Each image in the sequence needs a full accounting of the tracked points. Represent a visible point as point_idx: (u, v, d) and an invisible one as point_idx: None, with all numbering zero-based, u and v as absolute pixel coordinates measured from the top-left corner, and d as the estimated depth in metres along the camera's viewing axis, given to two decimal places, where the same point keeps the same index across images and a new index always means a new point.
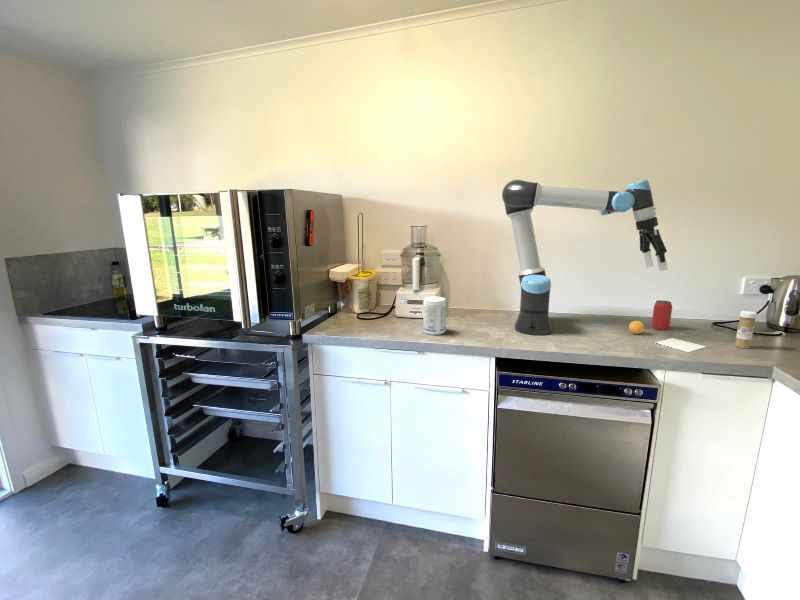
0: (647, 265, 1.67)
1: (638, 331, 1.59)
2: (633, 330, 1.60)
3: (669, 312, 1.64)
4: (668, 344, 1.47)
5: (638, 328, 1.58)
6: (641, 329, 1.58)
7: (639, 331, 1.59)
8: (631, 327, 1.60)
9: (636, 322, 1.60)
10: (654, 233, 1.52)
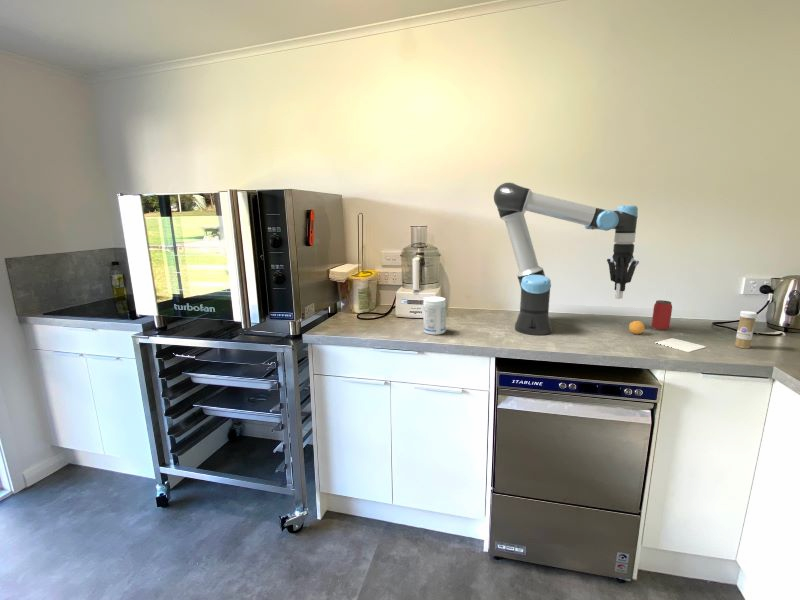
0: None
1: (638, 331, 1.59)
2: (633, 330, 1.60)
3: (669, 312, 1.64)
4: (668, 344, 1.47)
5: (638, 328, 1.58)
6: (641, 329, 1.58)
7: (639, 331, 1.59)
8: (631, 327, 1.60)
9: (636, 322, 1.60)
10: (635, 264, 1.59)
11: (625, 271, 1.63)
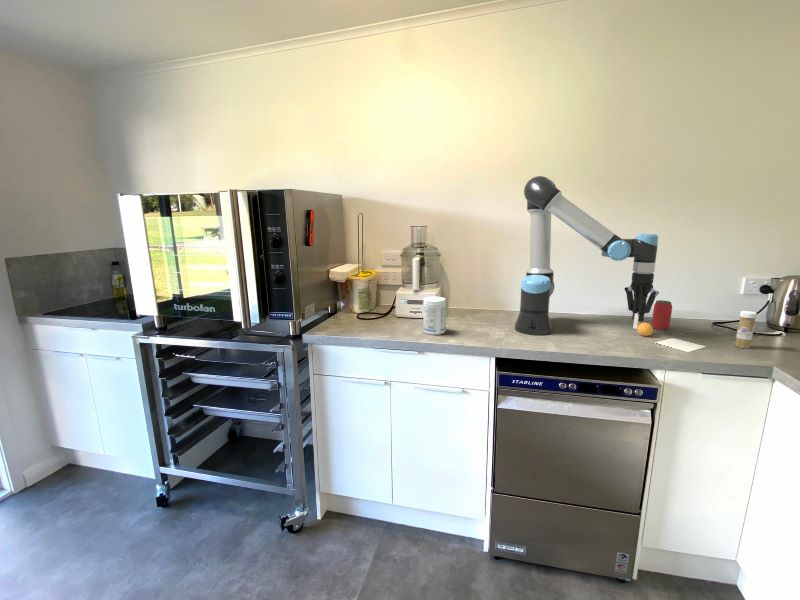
0: None
1: (642, 334, 1.58)
2: (639, 331, 1.58)
3: (669, 312, 1.64)
4: (668, 344, 1.47)
5: (644, 334, 1.57)
6: (646, 335, 1.57)
7: (643, 335, 1.58)
8: (640, 328, 1.57)
9: (648, 328, 1.55)
10: (654, 295, 1.53)
11: (644, 301, 1.57)
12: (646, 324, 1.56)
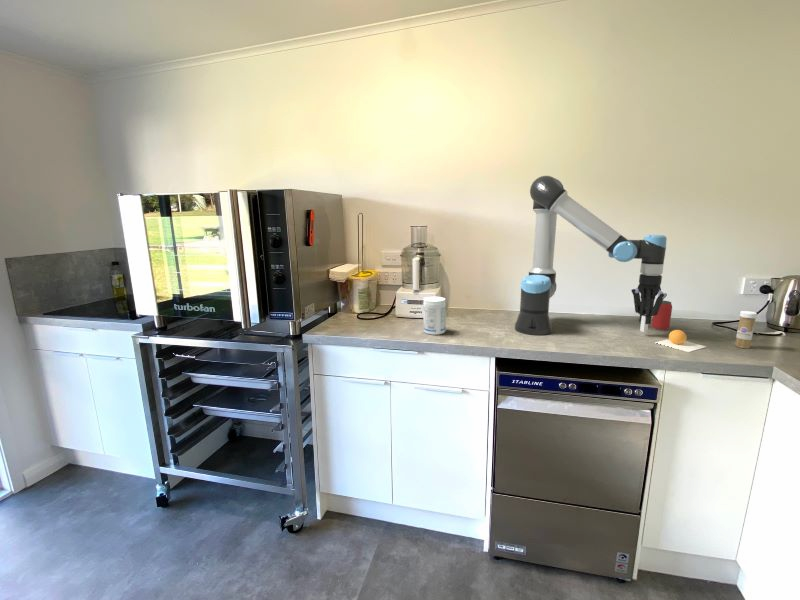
0: None
1: (681, 337, 1.45)
2: (676, 339, 1.46)
3: (669, 312, 1.64)
4: (668, 344, 1.47)
5: (678, 334, 1.45)
6: (681, 334, 1.45)
7: (682, 336, 1.45)
8: (672, 338, 1.47)
9: (672, 331, 1.48)
10: (662, 297, 1.50)
11: (651, 303, 1.54)
12: (669, 335, 1.49)
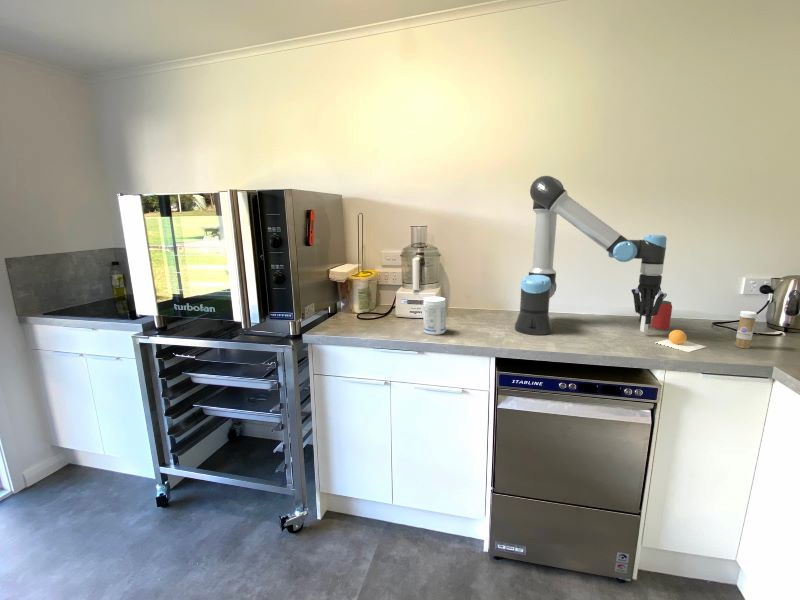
0: None
1: (681, 337, 1.45)
2: (676, 339, 1.46)
3: (669, 312, 1.64)
4: (668, 344, 1.47)
5: (678, 334, 1.45)
6: (681, 334, 1.45)
7: (682, 336, 1.45)
8: (672, 338, 1.47)
9: (672, 331, 1.48)
10: (662, 297, 1.50)
11: (651, 303, 1.54)
12: (669, 335, 1.49)
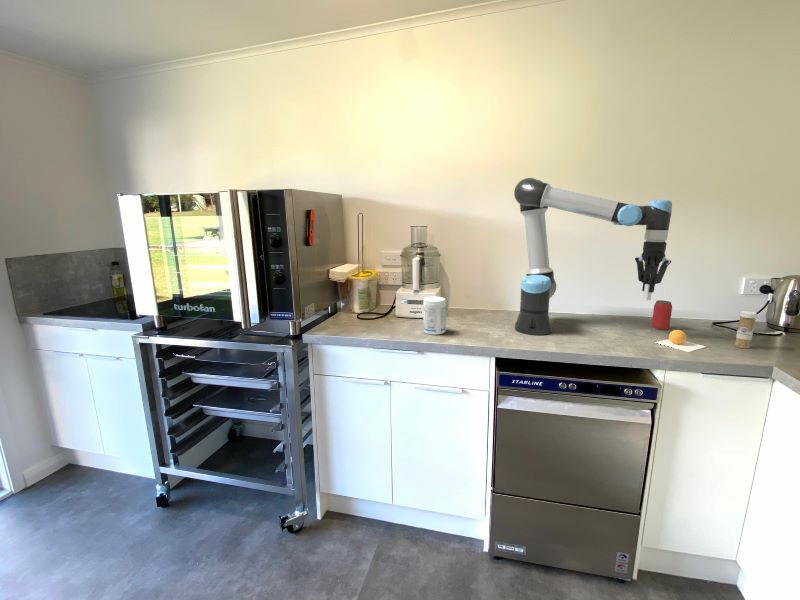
0: None
1: (681, 337, 1.45)
2: (676, 339, 1.46)
3: (669, 312, 1.64)
4: (668, 344, 1.47)
5: (678, 334, 1.45)
6: (681, 334, 1.45)
7: (682, 336, 1.45)
8: (672, 338, 1.47)
9: (672, 331, 1.48)
10: (666, 264, 1.48)
11: (655, 271, 1.52)
12: (669, 335, 1.49)
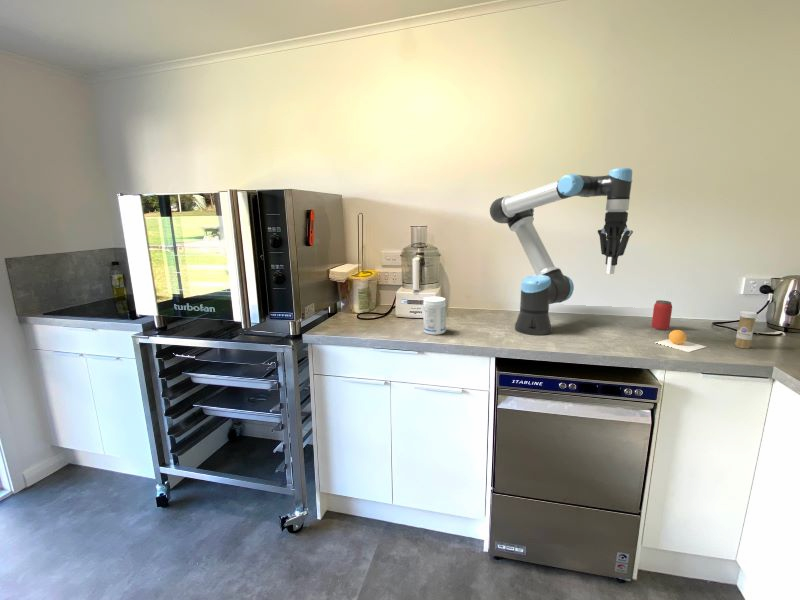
0: None
1: (681, 337, 1.45)
2: (676, 339, 1.46)
3: (669, 312, 1.64)
4: (668, 344, 1.47)
5: (678, 334, 1.45)
6: (681, 334, 1.45)
7: (682, 336, 1.45)
8: (672, 338, 1.47)
9: (672, 331, 1.48)
10: (628, 234, 1.42)
11: (617, 243, 1.46)
12: (669, 335, 1.49)
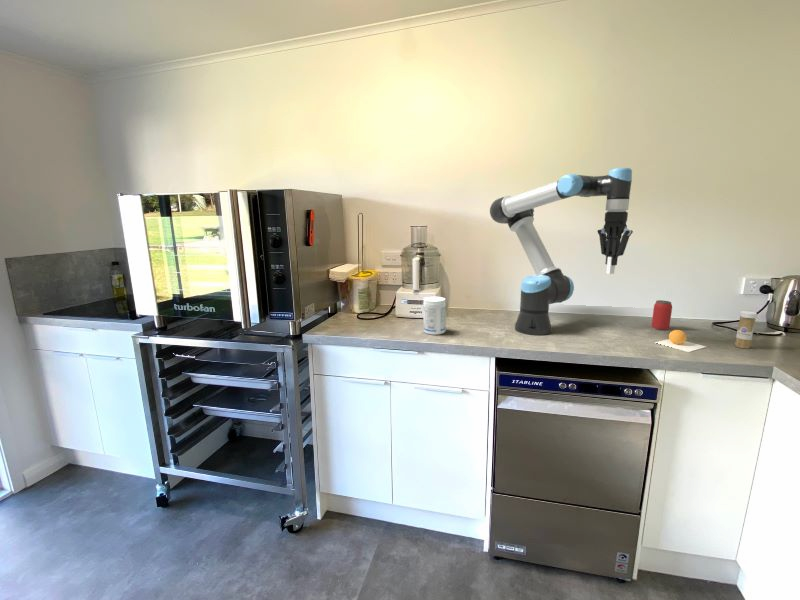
0: None
1: (681, 337, 1.45)
2: (676, 339, 1.46)
3: (669, 312, 1.64)
4: (668, 344, 1.47)
5: (678, 334, 1.45)
6: (681, 334, 1.45)
7: (682, 336, 1.45)
8: (672, 338, 1.47)
9: (672, 331, 1.48)
10: (628, 234, 1.42)
11: (617, 243, 1.46)
12: (669, 335, 1.49)
